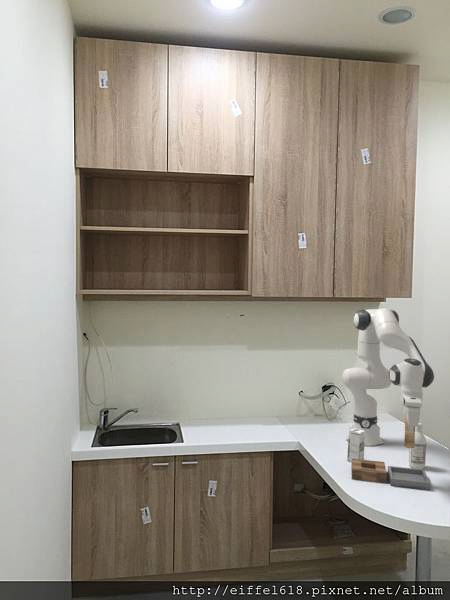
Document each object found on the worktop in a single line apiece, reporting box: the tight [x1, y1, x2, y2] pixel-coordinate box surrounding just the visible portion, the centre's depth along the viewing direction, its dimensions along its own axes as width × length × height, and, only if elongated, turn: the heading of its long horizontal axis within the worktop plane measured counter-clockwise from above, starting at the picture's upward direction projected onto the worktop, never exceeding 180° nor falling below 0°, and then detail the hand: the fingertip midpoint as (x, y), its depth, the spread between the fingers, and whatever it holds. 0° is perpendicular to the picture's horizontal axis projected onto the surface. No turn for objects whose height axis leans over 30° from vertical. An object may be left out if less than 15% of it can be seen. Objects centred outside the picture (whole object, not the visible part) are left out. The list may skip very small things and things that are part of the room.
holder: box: [350, 459, 388, 484], centre depth 216 cm, size 14×14×4 cm
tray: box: [387, 465, 431, 491], centre depth 210 cm, size 15×15×3 cm
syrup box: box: [346, 428, 365, 463], centre depth 232 cm, size 6×6×14 cm
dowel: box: [403, 414, 415, 449], centre depth 210 cm, size 4×4×14 cm
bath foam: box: [408, 422, 427, 470], centre depth 227 cm, size 7×7×20 cm
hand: (409, 430), depth 210 cm, fingers closed on dowel, 4 cm apart
